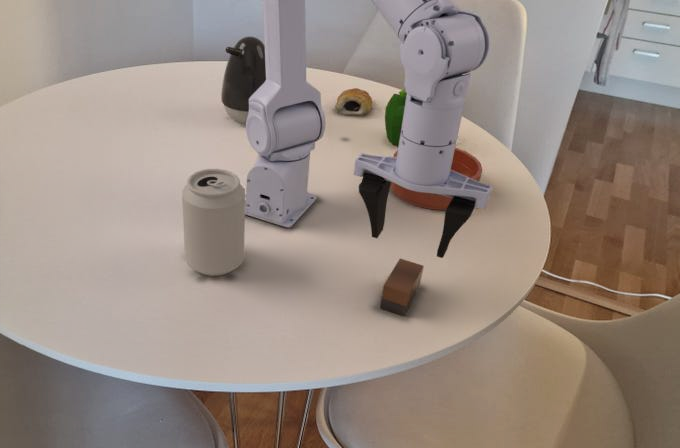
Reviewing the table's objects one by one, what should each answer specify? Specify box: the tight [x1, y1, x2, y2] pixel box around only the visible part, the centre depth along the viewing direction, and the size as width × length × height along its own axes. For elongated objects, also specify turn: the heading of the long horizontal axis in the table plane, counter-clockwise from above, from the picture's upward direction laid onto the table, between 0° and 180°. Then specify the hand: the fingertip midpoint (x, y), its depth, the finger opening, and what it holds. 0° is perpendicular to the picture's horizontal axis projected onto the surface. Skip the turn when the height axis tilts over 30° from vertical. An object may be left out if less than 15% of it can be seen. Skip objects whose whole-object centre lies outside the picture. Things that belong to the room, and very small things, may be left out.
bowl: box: [390, 146, 483, 211], centre depth 99 cm, size 13×13×4 cm
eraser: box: [379, 258, 425, 317], centre depth 76 cm, size 6×3×4 cm, turn 153°
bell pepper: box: [384, 88, 407, 147], centre depth 111 cm, size 8×8×10 cm
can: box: [181, 168, 246, 277], centre depth 79 cm, size 8×8×12 cm
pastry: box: [335, 87, 373, 117], centre depth 125 cm, size 9×7×4 cm
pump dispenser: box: [220, 35, 266, 125], centre depth 115 cm, size 10×10×15 cm
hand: (408, 243), depth 74 cm, fingers open, 7 cm apart
